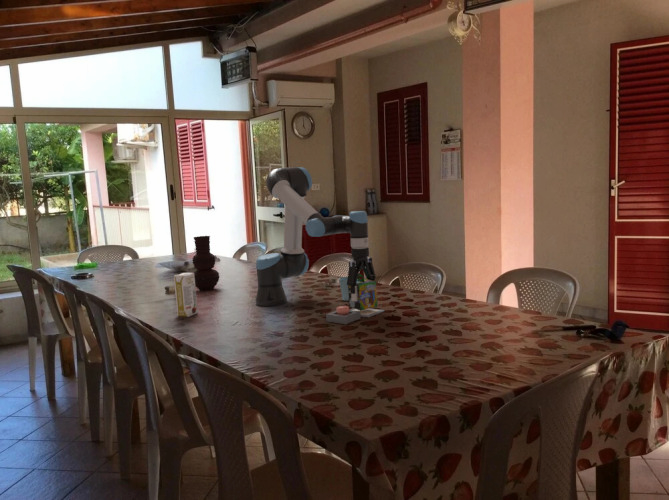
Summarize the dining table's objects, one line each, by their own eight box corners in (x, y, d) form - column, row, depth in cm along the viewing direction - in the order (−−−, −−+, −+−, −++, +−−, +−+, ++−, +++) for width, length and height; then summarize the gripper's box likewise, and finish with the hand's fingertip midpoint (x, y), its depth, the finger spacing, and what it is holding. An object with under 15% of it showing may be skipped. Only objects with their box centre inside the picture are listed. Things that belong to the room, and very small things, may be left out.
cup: (359, 299, 273) (357, 278, 272) (344, 301, 270) (343, 280, 269) (352, 296, 280) (350, 275, 279) (337, 299, 277) (336, 277, 276)
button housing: (326, 321, 236) (326, 314, 236) (341, 315, 244) (341, 309, 244) (345, 324, 230) (345, 317, 230) (360, 318, 238) (359, 311, 237)
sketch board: (342, 313, 248) (341, 312, 247) (358, 307, 257) (358, 306, 257) (368, 317, 239) (368, 316, 239) (384, 311, 248) (384, 310, 248)
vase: (226, 288, 321) (221, 235, 317) (206, 293, 308) (201, 238, 305) (206, 286, 330) (201, 234, 326) (186, 292, 317) (181, 238, 313)
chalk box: (377, 307, 246) (376, 273, 244) (360, 310, 241) (358, 276, 239) (365, 303, 254) (364, 270, 252) (348, 307, 249) (346, 273, 247)
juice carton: (200, 312, 265) (196, 272, 262) (188, 317, 257) (184, 275, 254) (187, 312, 268) (183, 272, 265) (174, 316, 260) (171, 275, 258)
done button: (334, 314, 236) (333, 307, 236) (342, 311, 240) (341, 305, 240) (344, 316, 233) (343, 309, 233) (351, 313, 237) (351, 306, 237)
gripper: (350, 251, 233) (353, 304, 236) (382, 244, 251) (384, 293, 253) (336, 250, 238) (339, 302, 241) (368, 243, 255) (370, 292, 258)
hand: (362, 298), depth 247 cm, fingers closed on chalk box, 10 cm apart
